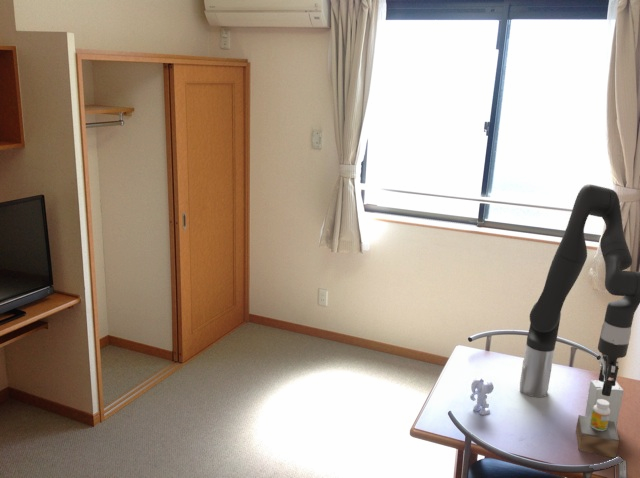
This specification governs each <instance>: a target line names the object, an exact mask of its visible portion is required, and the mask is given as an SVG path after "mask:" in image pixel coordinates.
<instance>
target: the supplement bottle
mask: <svg viewBox="0 0 640 478" xmlns="http://www.w3.org/2000/svg"><path fill="white" fill-rule="evenodd" d="M609 416H610V409H609V402H608V401H606V400H603V399H598V400H597V402H596V405H594V407H593V411H592V416H591V421H590V426H591V427H592V428H594V429H595V430H598V431H605V430H606V429H607V426H608V421H609Z"/></svg>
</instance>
